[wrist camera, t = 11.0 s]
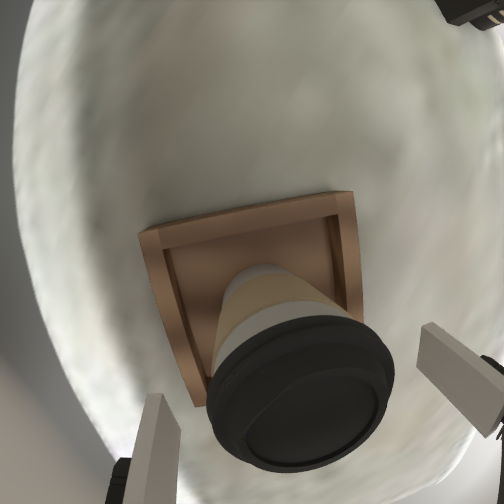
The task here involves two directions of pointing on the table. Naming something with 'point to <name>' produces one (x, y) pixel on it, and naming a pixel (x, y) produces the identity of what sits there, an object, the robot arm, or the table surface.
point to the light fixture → (473, 12)
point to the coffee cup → (293, 374)
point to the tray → (243, 256)
